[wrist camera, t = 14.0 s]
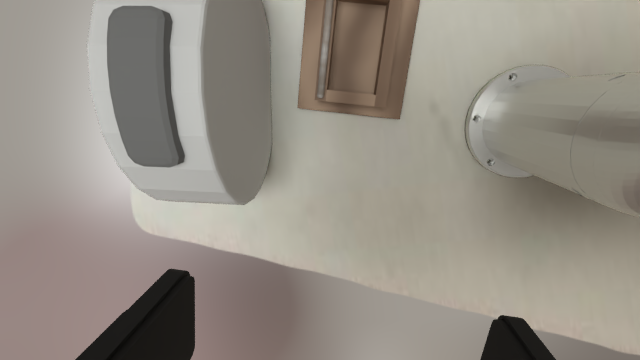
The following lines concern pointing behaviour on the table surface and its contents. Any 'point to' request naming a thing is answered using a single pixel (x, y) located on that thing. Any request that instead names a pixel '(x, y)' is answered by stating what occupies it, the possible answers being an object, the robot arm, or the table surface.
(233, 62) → the alarm clock
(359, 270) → the table surface
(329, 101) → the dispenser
